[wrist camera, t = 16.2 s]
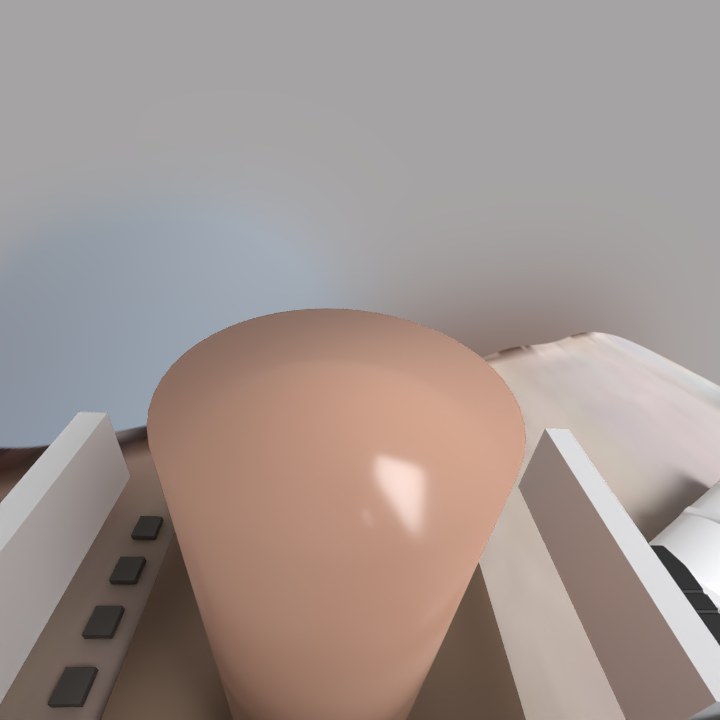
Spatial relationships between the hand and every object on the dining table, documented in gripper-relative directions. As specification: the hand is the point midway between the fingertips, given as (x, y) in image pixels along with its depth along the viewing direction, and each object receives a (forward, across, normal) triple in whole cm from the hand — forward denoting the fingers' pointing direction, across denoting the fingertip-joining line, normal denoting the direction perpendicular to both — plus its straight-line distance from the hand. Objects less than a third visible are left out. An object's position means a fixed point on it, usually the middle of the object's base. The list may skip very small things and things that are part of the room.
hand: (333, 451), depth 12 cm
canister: (-3, 0, -8) cm, 9 cm away
